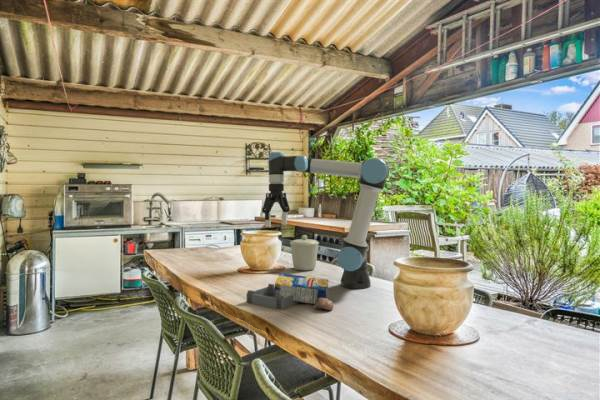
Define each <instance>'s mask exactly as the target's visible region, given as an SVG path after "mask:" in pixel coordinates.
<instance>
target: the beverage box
mask: <svg viewBox="0 0 600 400" xmlns="http://www.w3.org/2000/svg"><path fill="white" fill-rule="evenodd" d="M328 286H329V279H328V278H320V277H319V278H318V277H314V276H313V277H312V276H305V275H296V274H290V273H283V272H280V273H278V275H277V277H276V281H275V282H274V287H275V289H274V296H273V297H274V298H277V295H281V296H283V298H285V297H288V296H293V298H294V301H297V302H299V303H305V304H313V305H315V304H316V300H317V299H318V298H327V297H328Z"/></svg>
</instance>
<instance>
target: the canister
mask: <svg viewBox="0 0 600 400" xmlns="http://www.w3.org/2000/svg"><path fill="white" fill-rule="evenodd" d="M289 244H290V250H291V257H292V258H291V260H292V265H293V268H294V269H295V271H296V270H297V271H301V272H302V271H303V272H304V271H305V272H306V271H312V270H315V268H316V267H317V259H318V249H319V244H320V242H319V241H318V240H316V239H311V238H310V239H309V238H308V236H307V234H303V235H302V236H301V238H298V239H294V240H292V241H290V242H289Z"/></svg>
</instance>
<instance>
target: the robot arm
mask: <svg viewBox="0 0 600 400" xmlns="http://www.w3.org/2000/svg"><path fill="white" fill-rule="evenodd" d="M267 163H268V191H269V192H266V193H265V200H264V202H263V205H262V209H261V212H262V213H263V214H264V220H265V222H264V223H265V224H264V225H265V228H266V227H267V228H271V227H272V223H271V221H272V220H271V219H272V218H271V217H272V216H271V215H272V213H271V211H272V209H273V207H274V204H276V203H278V205H279V206H280V208H281V210H282V212H281V225H283V226H288V213H289V212H290V211H291V210H290V209H291V208H290V205H289V200H288V198H287V192H284V191H285V190H284V189H285V188H284V187H285V185H284V182H285V179H284V178H285V177H284V175H285V172H298V173H306V174H316V175H317V174H319V175H326V176H327V175H328V176H337V177H346V178H358V179H359V182H358V185H359V187H360V189H359V194H358V197H357V201H356V205H355V209H354V212H353V216H352V219H351V223H350V226H349V229H348V230H349V231H348V234H347V236H346V237H344V238H343V239H342V243H341V246H340V247H341V248H340V250H339V251H338V252H337V263H338V265H339V267H340V268H341V269H342V270H343V272H342V275H341V279H340V286H341V287H342V288H347V289H355V290H357V289H366V288H370V287H371V286H372V284H371V279H370V276H369V273H368V272H369V271H368V242H367V241H366V240H367V237H368V236H367V235H368V233H369V229H370V225H371V222H372V218H373V215H374V211H375V208H376V205H377V201H378V197H379V193H380V192H382V191H383V190H384V188H385V184H386V180H387V179H388V177H389V175H390V168H389V166H388V164H387V163H386V162H385V160H384V159H382V158H379V157H371V158H369V159H366V160H362V161H361V162H355V161H345V160H331V159H319V158H311V157H310V158H309V157H307V156H306V155H289V156H288V155H287V156H286V155H285V154H284V152H282V151H278V152H277V151H273V152H270V153H269V154H268V161H267Z"/></svg>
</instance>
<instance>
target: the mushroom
mask: <svg viewBox="0 0 600 400" xmlns="http://www.w3.org/2000/svg"><path fill="white" fill-rule="evenodd" d="M313 305H314V306H313V308H316V309H318V310H323V309H324V310H328V311H332V310H333V309H334V303H333V301H332V300H330V299H329V298H327V297H326V298H318V299H317V300H316V304H313Z"/></svg>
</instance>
